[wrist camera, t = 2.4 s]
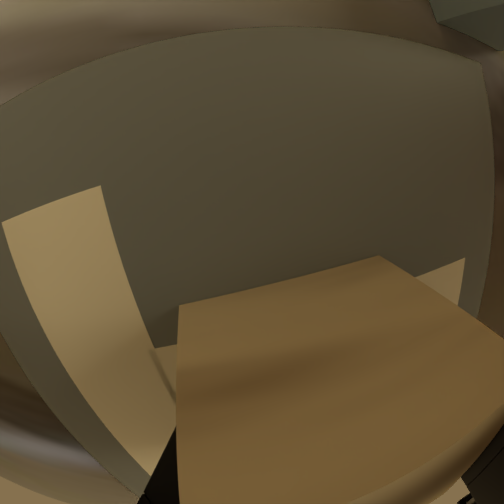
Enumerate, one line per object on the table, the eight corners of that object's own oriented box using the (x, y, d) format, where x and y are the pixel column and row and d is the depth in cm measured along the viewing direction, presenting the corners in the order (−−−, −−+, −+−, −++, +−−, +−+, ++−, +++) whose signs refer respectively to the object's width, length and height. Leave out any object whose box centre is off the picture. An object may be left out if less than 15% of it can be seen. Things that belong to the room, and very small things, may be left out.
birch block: (369, 387, 10) (444, 493, 4) (227, 431, 9) (259, 568, 4) (379, 255, 8) (537, 365, 2) (179, 305, 7) (183, 537, 2)
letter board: (438, 404, 13) (443, 410, 12) (143, 492, 11) (143, 501, 10) (470, 64, 7) (480, 62, 6) (-43, 144, 5) (-55, 145, 4)
